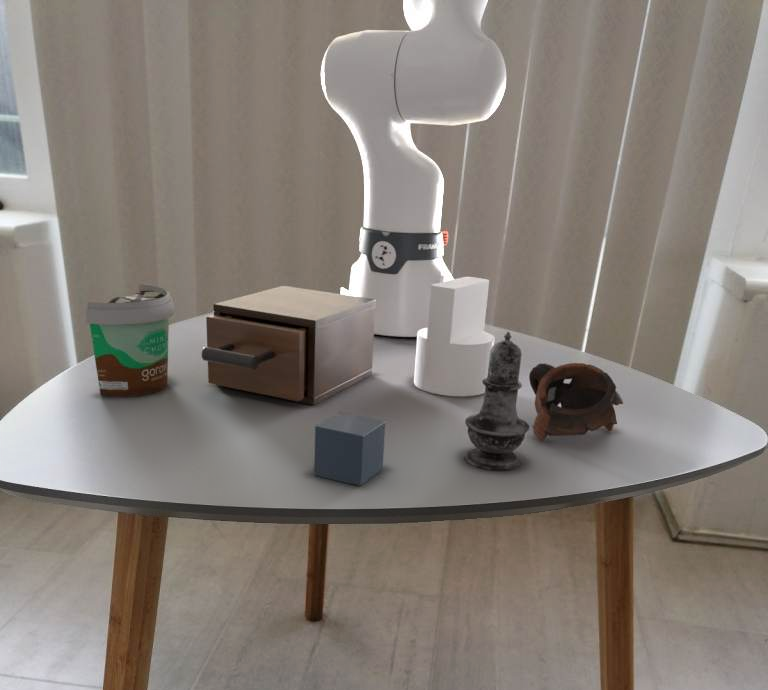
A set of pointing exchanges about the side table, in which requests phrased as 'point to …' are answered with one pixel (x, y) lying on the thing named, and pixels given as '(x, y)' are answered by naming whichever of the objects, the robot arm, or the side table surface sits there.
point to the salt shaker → (498, 412)
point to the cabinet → (318, 333)
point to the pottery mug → (572, 399)
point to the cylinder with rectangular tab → (454, 339)
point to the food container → (131, 341)
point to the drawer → (257, 355)
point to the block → (349, 448)
